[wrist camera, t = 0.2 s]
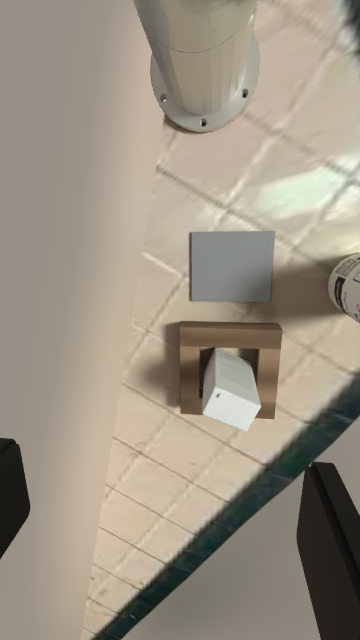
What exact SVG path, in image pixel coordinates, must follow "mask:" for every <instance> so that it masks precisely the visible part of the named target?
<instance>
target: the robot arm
mask: <svg viewBox="0 0 360 640" xmlns="http://www.w3.org/2000/svg"><path fill="white" fill-rule="evenodd" d="M133 2H134V4H135V7H136V9H137V12H138V15H139V18H140V20H141V23H142V26H143V28H144V31H145V33H146V36H147V39H148V41H149V44H150V46H151V49H152V57H151V70H150V73H151V82H152V86H153V90H154V94H155V96H156V98H157V101H158V103H159V105H160V107H161V108H162V110H163V112H164V113H165V114H166V115H167V116H168V117H169V119H170V120H172V121H173V122H174V123H176V124H177V125H178V126H180V127H182V128H184V129H186V130H190V131H194V132H209V131H214V130H217V129H219V128H222V127H224V126H226V125H227V124H229V123H230V122H232V121H233V120H234V119H235V118H236V117H237V116H238V115H239V114H240V113H241V112H242V111H243V110H244V108H245V107H246V106H247V104H248V103H249V101H250V99H251V97H252V95H253V93H254V90H255V87H256V84H257V79H258V75H259V67H260V54H259V45H258V42H257V38H256V35H255V32H254V30H253V27H254V22H255V16H256V11H257V5H258V0H133ZM243 94H246V96H247V97H246V98H243V97H242V95H243ZM164 99H167V101H166V102H163V100H164ZM202 123H206V125H205V126H204V127H203V126H202ZM29 512H30V501H29V496H28V490H27V485H26V479H25V473H24V468H23V463H22V457H21V451H20V447H19V445H18V444H16V441H15V440H14V439H6V438H0V559H1V557H2V556H3V554H4V553H5V551H6V550H7V548H8V547H9V545H10V543H11V542H12V541H13V539H14V538H15V536H16V534H17V533H18V531H19V530H20V528H21V527H22V525H23V524H24V522H25V521H26V519H27V517H28V515H29ZM297 545H298V550H299V553H300V557H301V562H302V566H303V570H304V574H305V578H306V582H307V585H308V589H309V593H310V598H311V601H312V606H313V610H314V613H315V617H316V621H317V625H318V629H319V633H320V637H321V640H360V515H359V514H358V512H357V510H356V508H355V506H354V504H353V502H352V499H351V497H350V495H349V493H348V491H347V489H346V488H345V485H344V483H343V481H342V479H341V477H340V475H339V474H338V471H337V469H336V467H335V465H334V464H333V463H324V462H312V464H311V467H309V466H306V468H305V474H304V481H303V489H302V497H301V504H300V511H299V519H298V526H297Z"/></svg>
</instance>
